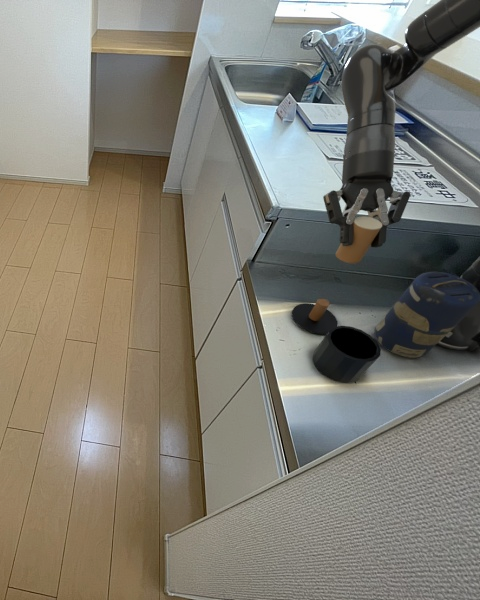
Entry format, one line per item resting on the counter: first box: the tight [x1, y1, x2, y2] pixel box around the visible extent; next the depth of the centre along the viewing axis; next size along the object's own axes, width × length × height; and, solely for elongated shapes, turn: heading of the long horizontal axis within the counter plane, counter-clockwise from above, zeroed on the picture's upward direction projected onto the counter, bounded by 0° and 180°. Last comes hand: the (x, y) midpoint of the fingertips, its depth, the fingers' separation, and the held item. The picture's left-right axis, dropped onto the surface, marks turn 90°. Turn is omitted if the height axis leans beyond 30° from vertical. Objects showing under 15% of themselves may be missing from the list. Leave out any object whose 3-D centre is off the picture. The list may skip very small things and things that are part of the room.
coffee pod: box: [335, 215, 382, 264], centre depth 67 cm, size 4×4×8 cm
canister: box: [374, 271, 480, 358], centre depth 69 cm, size 10×10×18 cm
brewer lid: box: [291, 298, 339, 335], centre depth 79 cm, size 9×9×6 cm
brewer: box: [312, 325, 382, 384], centre depth 70 cm, size 9×9×8 cm
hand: (362, 245), depth 66 cm, fingers closed on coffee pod, 4 cm apart
